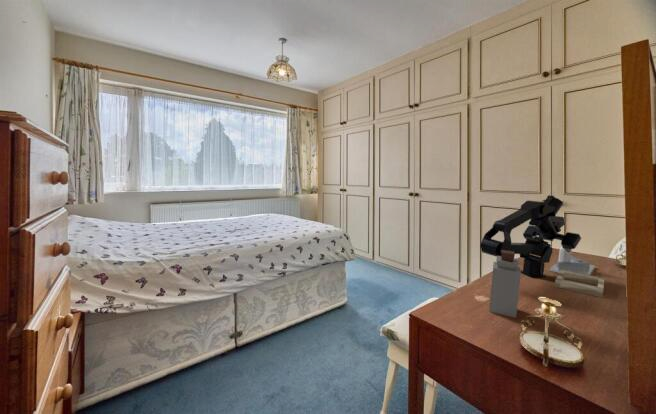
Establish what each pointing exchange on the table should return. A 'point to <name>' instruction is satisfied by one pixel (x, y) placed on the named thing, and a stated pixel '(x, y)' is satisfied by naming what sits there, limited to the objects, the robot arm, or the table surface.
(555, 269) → the silver tray
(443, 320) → the table surface
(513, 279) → the perfume bottle
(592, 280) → the beige square frame
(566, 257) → the eye dropper bottle
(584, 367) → the table surface
